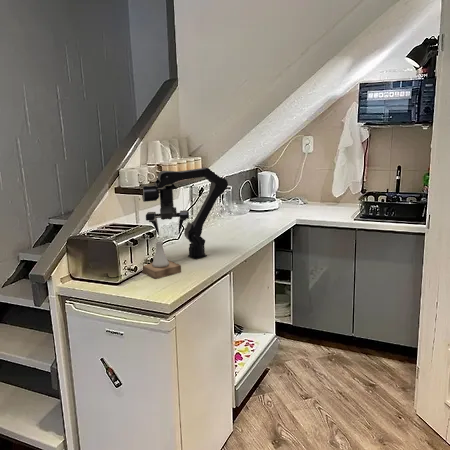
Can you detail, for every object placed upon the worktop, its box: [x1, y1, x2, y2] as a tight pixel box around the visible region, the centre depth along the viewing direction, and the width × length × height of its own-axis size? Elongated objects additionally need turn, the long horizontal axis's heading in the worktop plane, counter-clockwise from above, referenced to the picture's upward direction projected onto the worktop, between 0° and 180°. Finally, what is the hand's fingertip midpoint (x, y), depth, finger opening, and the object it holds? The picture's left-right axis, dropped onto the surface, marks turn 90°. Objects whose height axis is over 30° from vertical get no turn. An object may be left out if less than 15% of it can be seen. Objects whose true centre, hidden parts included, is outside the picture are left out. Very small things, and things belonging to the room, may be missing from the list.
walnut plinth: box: [141, 259, 182, 280], centre depth 189 cm, size 12×12×3 cm
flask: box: [151, 240, 169, 267], centre depth 187 cm, size 7×7×10 cm
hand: (168, 234), depth 203 cm, fingers open, 9 cm apart
